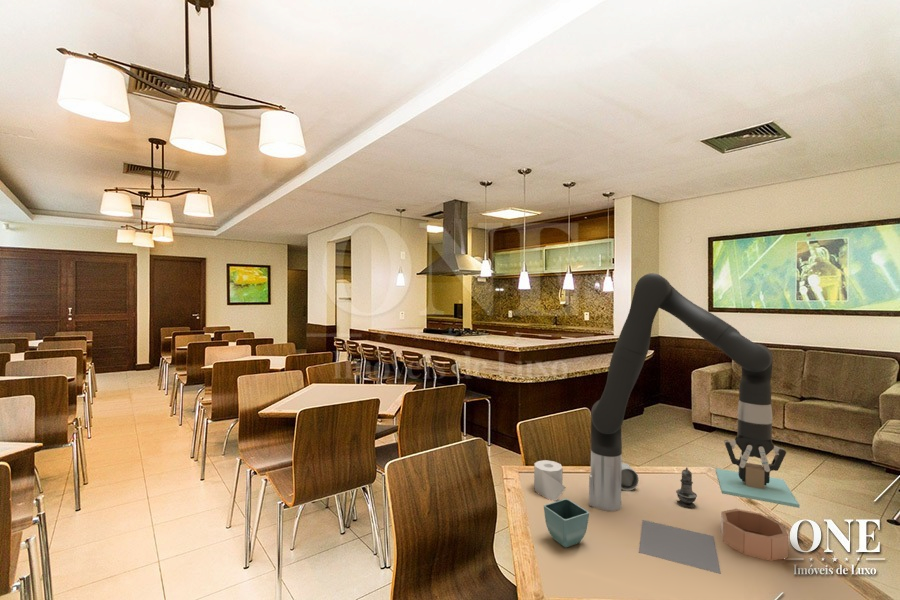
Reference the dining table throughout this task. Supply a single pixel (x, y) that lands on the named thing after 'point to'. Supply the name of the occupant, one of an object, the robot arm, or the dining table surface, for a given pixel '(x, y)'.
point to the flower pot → (566, 522)
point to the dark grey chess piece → (686, 491)
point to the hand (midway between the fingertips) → (753, 481)
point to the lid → (756, 486)
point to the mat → (679, 546)
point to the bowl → (754, 534)
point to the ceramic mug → (628, 478)
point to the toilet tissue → (548, 479)
